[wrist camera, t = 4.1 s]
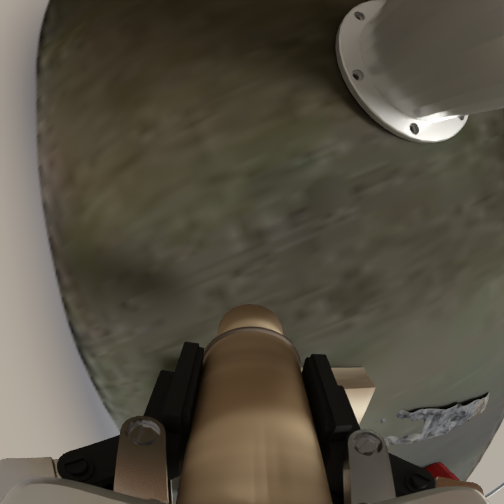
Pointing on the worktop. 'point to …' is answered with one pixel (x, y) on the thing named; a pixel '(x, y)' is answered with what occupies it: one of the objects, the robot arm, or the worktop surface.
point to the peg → (252, 420)
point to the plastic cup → (440, 471)
